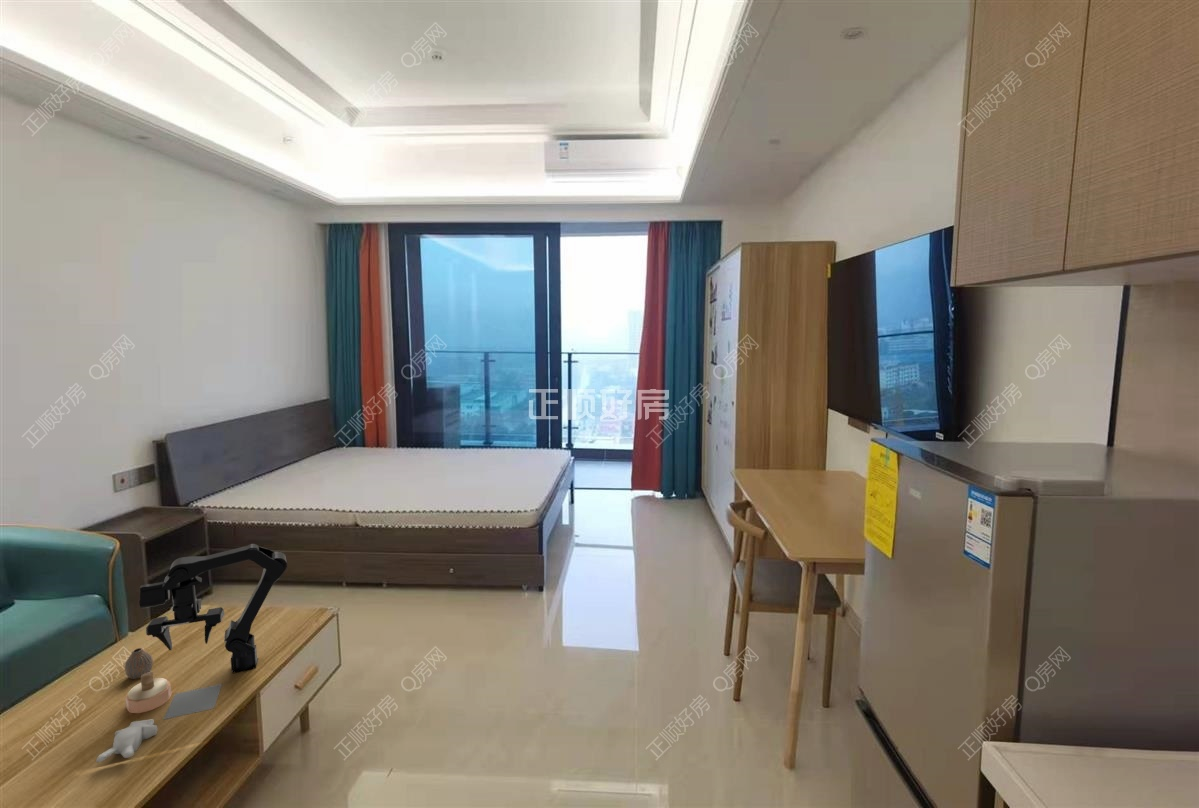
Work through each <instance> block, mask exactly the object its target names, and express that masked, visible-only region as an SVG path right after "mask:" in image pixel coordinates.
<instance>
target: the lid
mask: <svg viewBox="0 0 1199 808" xmlns="http://www.w3.org/2000/svg"><path fill="white" fill-rule="evenodd" d="M167 680H168V679H166V678H163V677H156V678H154V673H153V672H151V671H150V672H148V673H145V674H143V675H142V676H141V678H140V682H139V683H138V684H135V685H134V686H133V687H132V688H131V689H130V690H129V691H128V692H127V694H128V697H129V699H130V700H132V701H142V700H146V699H149V698H152V697H154V696H156V695H158V694H160V693H162V692H163V691H164V690H165V689H166V688H167V686H168V683H167Z"/></svg>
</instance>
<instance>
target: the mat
mask: <svg viewBox="0 0 1199 808" xmlns="http://www.w3.org/2000/svg"><path fill="white" fill-rule="evenodd" d="M222 686H223V683H219V684H213V685H211V686H206V687H200V688H197V689H192V690H187V691H181V692H178V693H177V692H176V693H175V694H174V695H173V697H172V699H171V702H170V703H169V706H168V708H167V711H166V712H165V715H164V717H163V718H162V719H163V721H165V720H169V719H174V718H177V717H181V716H186V715H190V714H191V715H192V714H196V713H199V712H204V711H208V710H213V709H214V708H215V706H216V703H217V700H218V697H219V694H220V693H221V692H220V691H221V689H222Z"/></svg>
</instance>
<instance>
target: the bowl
mask: <svg viewBox="0 0 1199 808" xmlns="http://www.w3.org/2000/svg"><path fill="white" fill-rule="evenodd" d="M166 680H167V683H168V686H167V688H166V689H165V690H164V691H163V692H162V693H160V694H158V695H156V696H154V697H152V698H149V699H146V700H142V701H132V700H130V699H129V697H128V693H127V694H126V696H125V705H126V710H127V711H128V712H129V713H132V714H133V713H134V714H141V713H145V712H146V713H147V712H150V711H152V710H154V709H157V708H158V707H161V706H163V705H164V704H165V703H166V702H168V701H169V700H170V698H171V696H172V694H173V693H172V686H171V682H170V681H169V680H168V679H166Z"/></svg>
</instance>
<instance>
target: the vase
mask: <svg viewBox="0 0 1199 808" xmlns="http://www.w3.org/2000/svg"><path fill="white" fill-rule="evenodd" d="M153 665H154V659H153V657H152V655H151V654H150V653H149V652H147V651H146V650H144V649H143V648H141V647H139V648H135V649H133V650H132V651H131V654H130V655H129V657H128V658H127V659H126V661H125V664H124V672H125V675H126V676H127V677H128V678H129V679H131V680H136V679H141V676H142V675H143V674H145V673H148V672H151V671H152V669H153Z"/></svg>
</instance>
